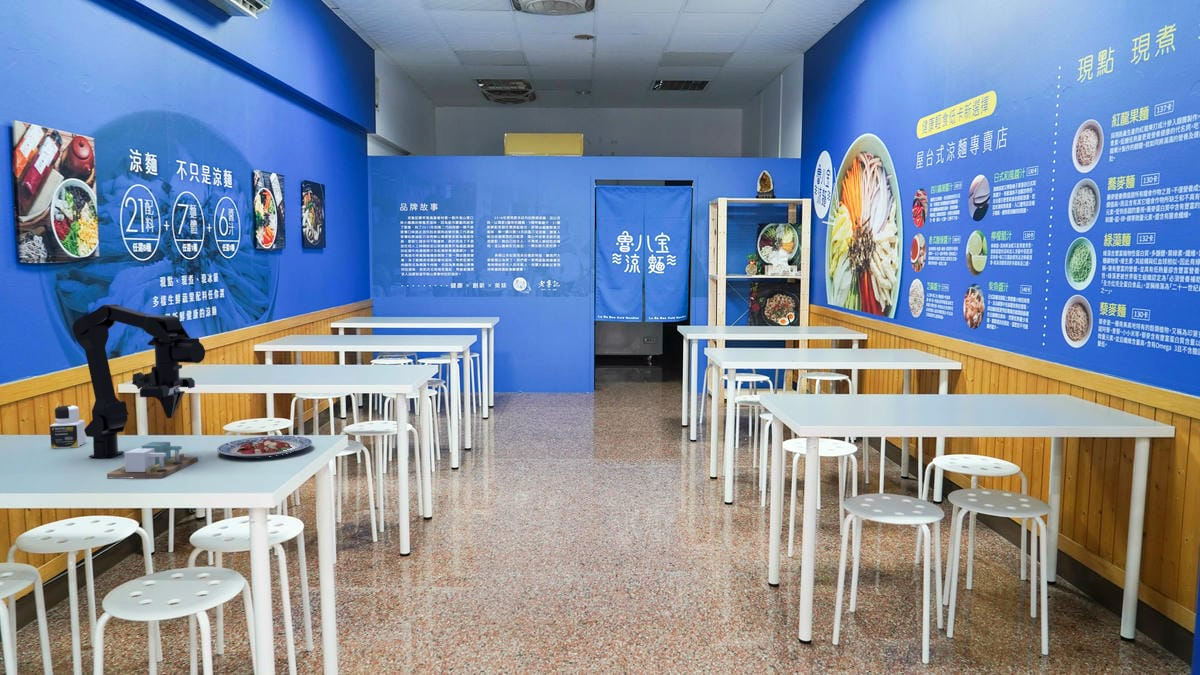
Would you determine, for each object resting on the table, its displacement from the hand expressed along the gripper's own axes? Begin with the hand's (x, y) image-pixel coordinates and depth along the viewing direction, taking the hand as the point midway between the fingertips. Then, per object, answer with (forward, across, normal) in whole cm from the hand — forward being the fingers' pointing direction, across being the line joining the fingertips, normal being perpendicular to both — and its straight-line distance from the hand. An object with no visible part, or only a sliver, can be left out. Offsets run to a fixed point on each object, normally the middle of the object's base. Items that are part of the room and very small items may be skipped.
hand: (169, 418), depth 235 cm
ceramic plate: (+12, -11, +22) cm, 27 cm away
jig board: (+12, +10, +1) cm, 16 cm away
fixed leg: (+10, +17, +3) cm, 20 cm away
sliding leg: (+10, +9, +3) cm, 14 cm away
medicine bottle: (+12, -18, -40) cm, 46 cm away
